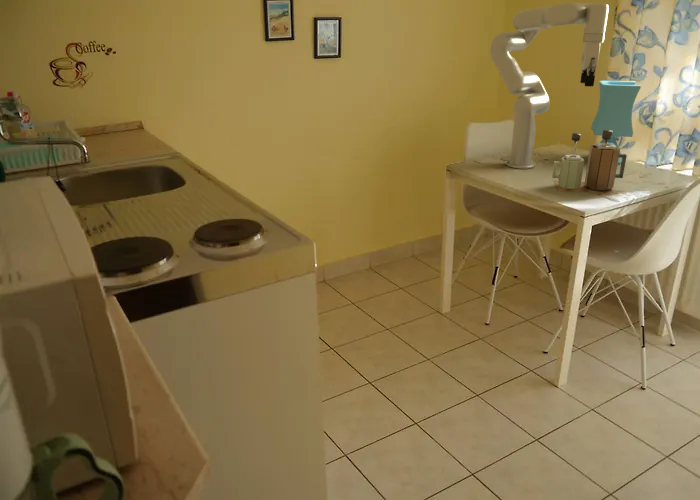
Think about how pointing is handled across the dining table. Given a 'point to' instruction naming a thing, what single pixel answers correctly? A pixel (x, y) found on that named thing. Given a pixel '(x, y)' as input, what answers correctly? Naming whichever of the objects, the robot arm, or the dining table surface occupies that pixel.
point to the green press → (569, 171)
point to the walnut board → (584, 189)
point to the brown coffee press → (603, 167)
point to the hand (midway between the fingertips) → (586, 84)
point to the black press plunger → (606, 136)
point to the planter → (615, 109)
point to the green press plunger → (575, 141)
